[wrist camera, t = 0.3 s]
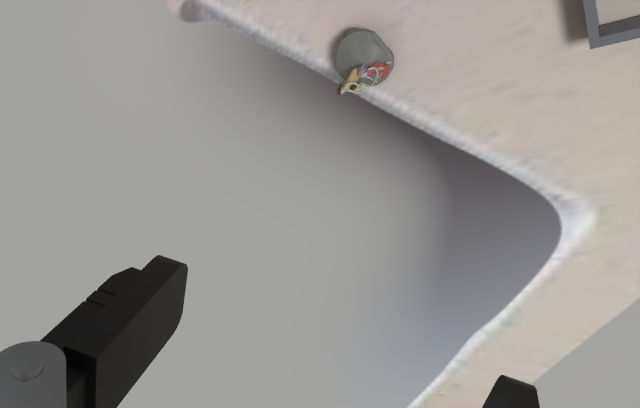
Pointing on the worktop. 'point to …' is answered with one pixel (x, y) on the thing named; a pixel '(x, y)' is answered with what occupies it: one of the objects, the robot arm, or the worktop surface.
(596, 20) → the can holder frame
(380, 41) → the figurine
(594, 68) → the worktop surface
